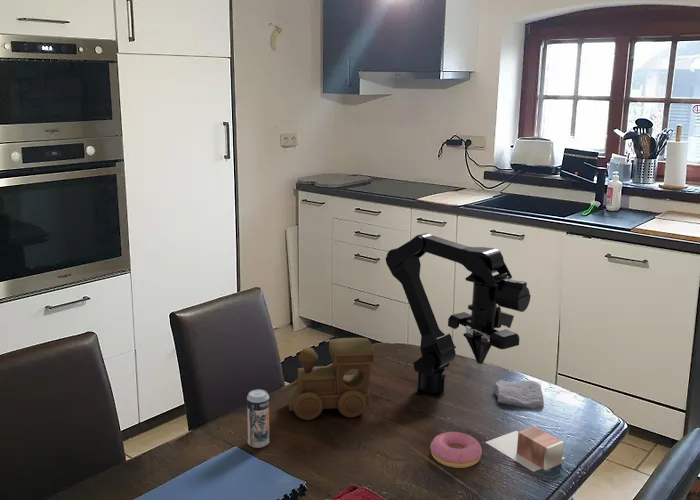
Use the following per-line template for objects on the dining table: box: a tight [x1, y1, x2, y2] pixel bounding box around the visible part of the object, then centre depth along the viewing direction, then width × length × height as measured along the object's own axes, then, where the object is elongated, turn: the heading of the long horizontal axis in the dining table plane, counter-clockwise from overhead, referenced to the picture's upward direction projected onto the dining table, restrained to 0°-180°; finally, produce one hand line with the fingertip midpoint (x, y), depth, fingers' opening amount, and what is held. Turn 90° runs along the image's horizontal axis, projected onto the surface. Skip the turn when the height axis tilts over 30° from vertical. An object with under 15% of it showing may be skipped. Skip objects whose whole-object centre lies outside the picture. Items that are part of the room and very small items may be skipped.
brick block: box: [517, 426, 565, 471], centre depth 147 cm, size 5×5×8 cm
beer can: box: [246, 388, 270, 449], centre depth 150 cm, size 5×5×12 cm
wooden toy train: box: [286, 337, 376, 421], centre depth 166 cm, size 20×11×17 cm, turn 99°
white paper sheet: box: [485, 430, 566, 473], centre depth 151 cm, size 14×10×1 cm
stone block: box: [493, 379, 545, 409], centre depth 175 cm, size 12×5×10 cm
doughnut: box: [429, 431, 483, 469], centre depth 147 cm, size 11×11×4 cm
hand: (480, 363), depth 167 cm, fingers closed
